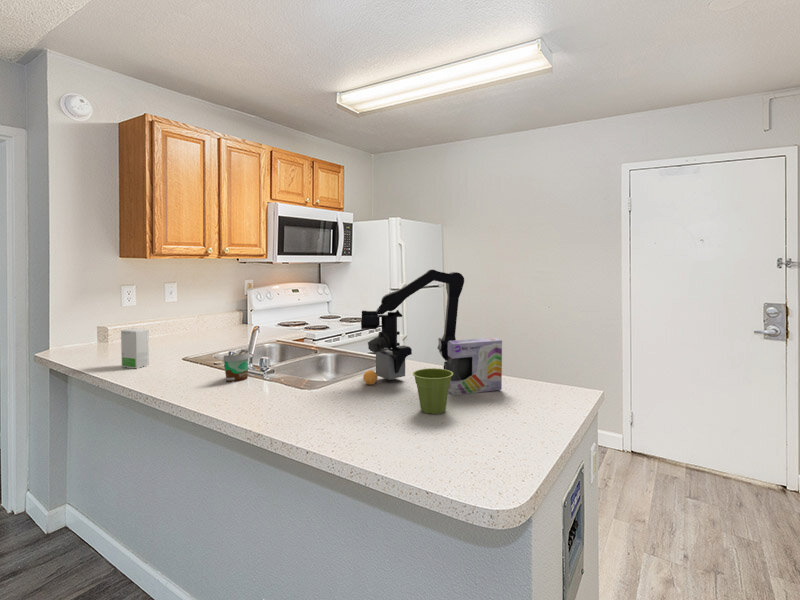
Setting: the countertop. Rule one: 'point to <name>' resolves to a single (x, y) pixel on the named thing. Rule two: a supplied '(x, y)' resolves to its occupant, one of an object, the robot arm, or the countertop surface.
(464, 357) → the cake pan box
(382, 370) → the matte gray foam cube
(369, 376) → the ball
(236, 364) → the food container
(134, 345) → the skincare box
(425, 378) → the plant pot
